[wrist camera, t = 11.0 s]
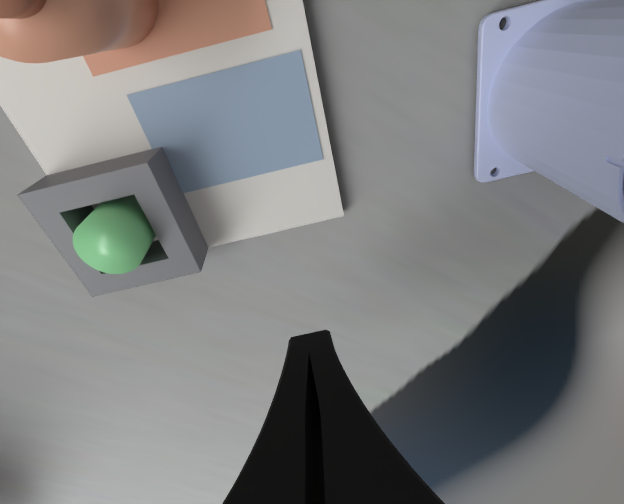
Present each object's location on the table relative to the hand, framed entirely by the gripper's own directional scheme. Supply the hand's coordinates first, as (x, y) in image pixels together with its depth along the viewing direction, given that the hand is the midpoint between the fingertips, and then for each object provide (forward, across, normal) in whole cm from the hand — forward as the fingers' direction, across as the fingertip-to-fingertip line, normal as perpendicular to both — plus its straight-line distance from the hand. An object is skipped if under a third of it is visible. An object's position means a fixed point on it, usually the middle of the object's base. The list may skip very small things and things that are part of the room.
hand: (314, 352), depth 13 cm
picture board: (+10, +4, -8) cm, 14 cm away
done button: (+9, +8, -3) cm, 13 cm away
